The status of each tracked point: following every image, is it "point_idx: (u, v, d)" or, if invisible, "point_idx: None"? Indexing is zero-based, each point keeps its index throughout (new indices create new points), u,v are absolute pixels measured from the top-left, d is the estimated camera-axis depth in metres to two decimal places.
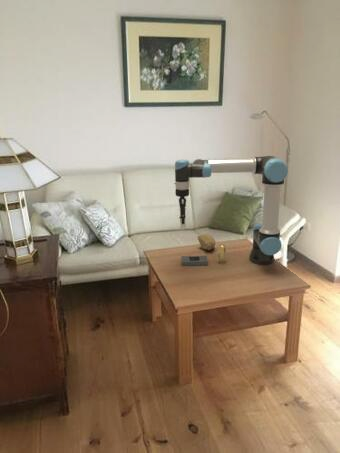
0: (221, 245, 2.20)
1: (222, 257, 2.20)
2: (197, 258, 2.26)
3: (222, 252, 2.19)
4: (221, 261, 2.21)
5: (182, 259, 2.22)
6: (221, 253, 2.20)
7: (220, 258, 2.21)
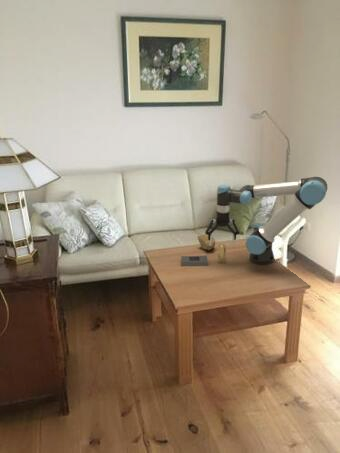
0: (221, 245, 2.20)
1: (222, 257, 2.20)
2: (197, 258, 2.26)
3: (222, 252, 2.19)
4: (221, 261, 2.21)
5: (182, 259, 2.22)
6: (221, 253, 2.20)
7: (220, 258, 2.21)
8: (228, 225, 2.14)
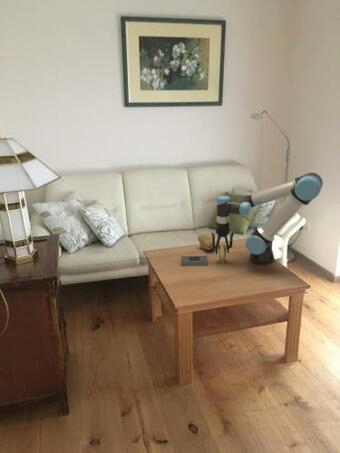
0: (221, 245, 2.20)
1: (222, 257, 2.20)
2: (197, 258, 2.26)
3: (222, 252, 2.19)
4: (221, 261, 2.21)
5: (182, 259, 2.22)
6: (221, 253, 2.20)
7: (220, 258, 2.21)
8: (226, 237, 2.17)
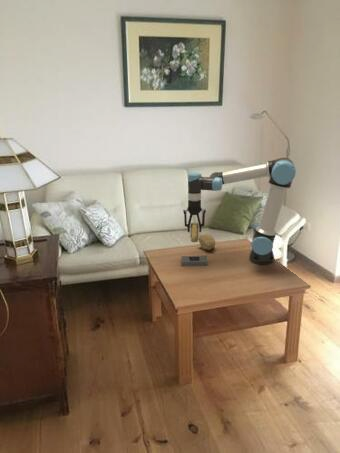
0: (193, 223, 2.16)
1: (194, 235, 2.16)
2: (197, 258, 2.26)
3: (194, 231, 2.15)
4: (193, 240, 2.17)
5: (182, 259, 2.22)
6: (193, 232, 2.15)
7: (192, 237, 2.17)
8: (198, 215, 2.12)
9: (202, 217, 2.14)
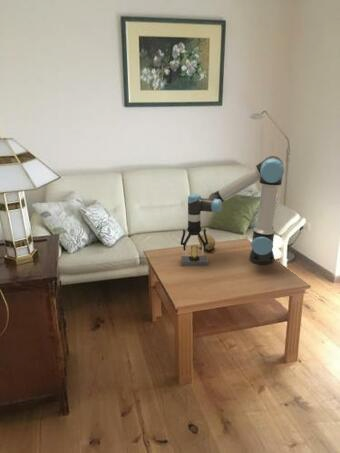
0: (193, 245, 2.21)
1: (194, 257, 2.21)
2: None
3: (194, 253, 2.19)
4: None
5: (182, 259, 2.22)
6: (193, 254, 2.20)
7: (192, 258, 2.21)
8: (199, 234, 2.16)
9: (204, 236, 2.18)
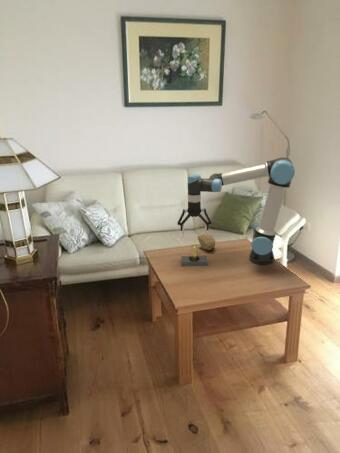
0: (193, 245, 2.21)
1: (194, 257, 2.21)
2: None
3: (194, 253, 2.19)
4: None
5: (182, 259, 2.22)
6: (193, 254, 2.20)
7: (192, 258, 2.21)
8: (200, 215, 2.12)
9: (206, 216, 2.14)
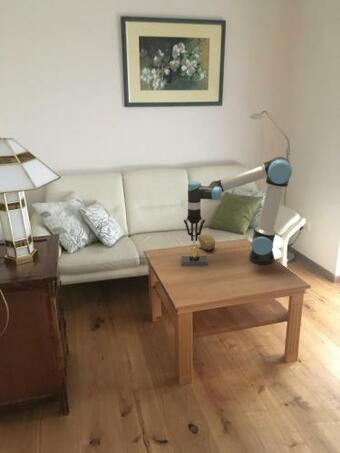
0: None
1: (194, 258, 2.21)
2: None
3: (194, 253, 2.19)
4: None
5: (182, 259, 2.22)
6: (193, 254, 2.20)
7: (192, 259, 2.21)
8: (197, 224, 2.14)
9: (200, 226, 2.16)
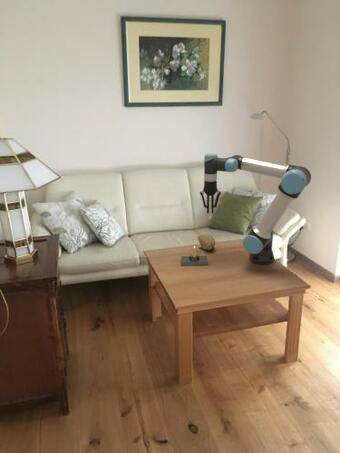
0: (193, 245, 2.21)
1: (194, 257, 2.21)
2: None
3: (194, 253, 2.19)
4: None
5: (182, 259, 2.22)
6: (193, 254, 2.20)
7: (192, 258, 2.21)
8: (213, 196, 2.15)
9: (216, 198, 2.17)
